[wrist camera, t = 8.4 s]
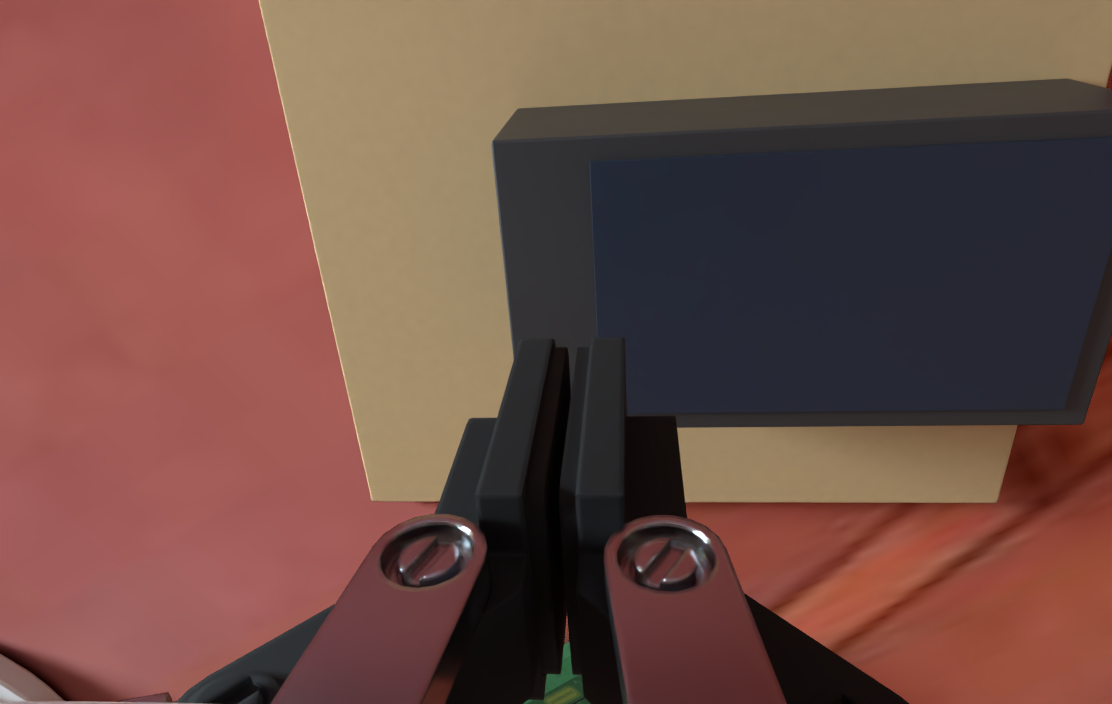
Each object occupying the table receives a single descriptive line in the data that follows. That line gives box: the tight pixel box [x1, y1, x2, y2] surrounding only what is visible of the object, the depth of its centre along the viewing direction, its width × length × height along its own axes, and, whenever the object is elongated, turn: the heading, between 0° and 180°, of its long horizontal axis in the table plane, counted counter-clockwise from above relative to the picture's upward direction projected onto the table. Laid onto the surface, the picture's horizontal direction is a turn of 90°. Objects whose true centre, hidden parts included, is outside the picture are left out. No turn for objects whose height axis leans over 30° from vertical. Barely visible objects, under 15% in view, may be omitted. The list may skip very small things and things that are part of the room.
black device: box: [491, 78, 1112, 428], centre depth 18 cm, size 4×7×13 cm
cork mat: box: [259, 0, 1112, 503], centre depth 20 cm, size 20×18×1 cm
